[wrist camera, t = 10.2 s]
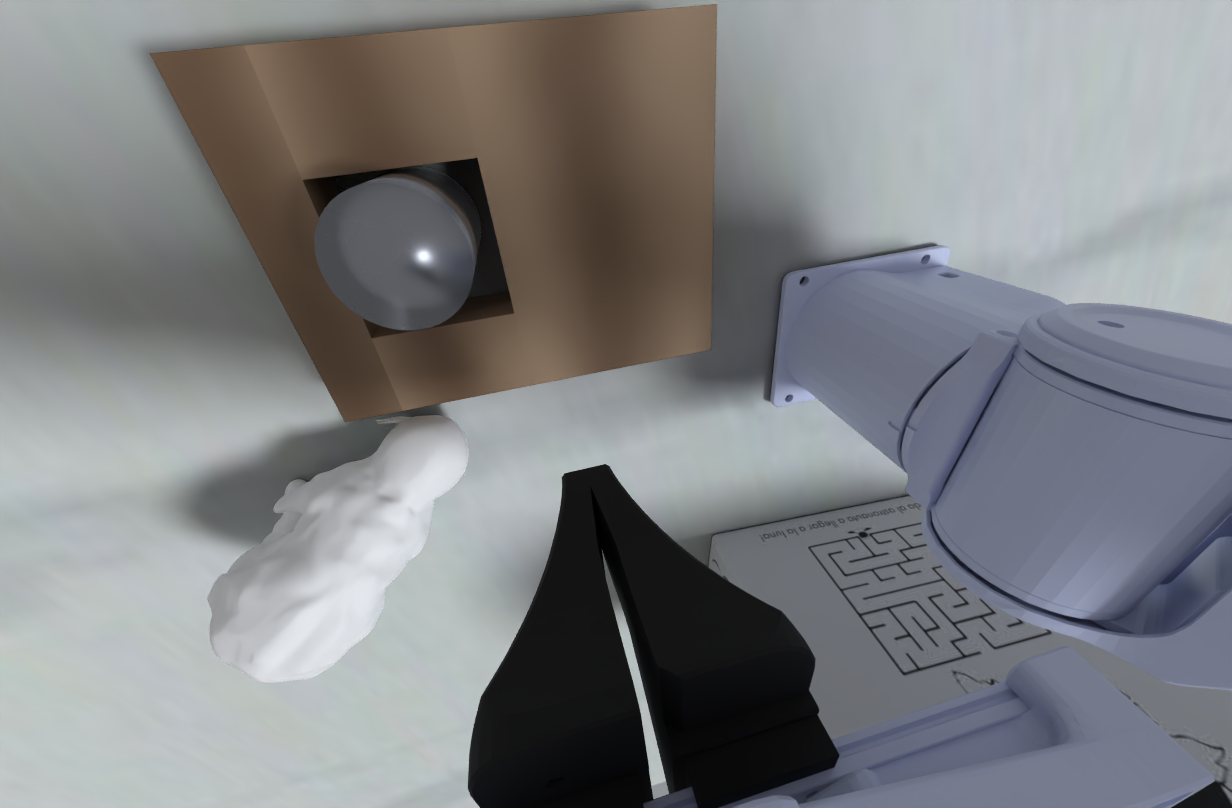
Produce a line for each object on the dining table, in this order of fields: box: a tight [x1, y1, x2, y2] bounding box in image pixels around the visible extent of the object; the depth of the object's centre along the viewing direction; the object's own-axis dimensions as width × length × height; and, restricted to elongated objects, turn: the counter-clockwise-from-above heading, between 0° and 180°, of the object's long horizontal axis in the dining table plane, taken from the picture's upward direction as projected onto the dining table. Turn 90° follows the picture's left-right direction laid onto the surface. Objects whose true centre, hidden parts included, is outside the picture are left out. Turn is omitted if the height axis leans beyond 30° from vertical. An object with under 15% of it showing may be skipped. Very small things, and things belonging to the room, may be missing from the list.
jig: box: [150, 4, 717, 422], centre depth 17 cm, size 16×12×3 cm
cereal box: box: [708, 496, 1232, 808], centre depth 25 cm, size 22×8×25 cm, turn 92°
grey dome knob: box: [314, 166, 481, 330], centre depth 15 cm, size 4×4×6 cm
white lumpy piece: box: [207, 415, 469, 683], centre depth 20 cm, size 6×8×12 cm
